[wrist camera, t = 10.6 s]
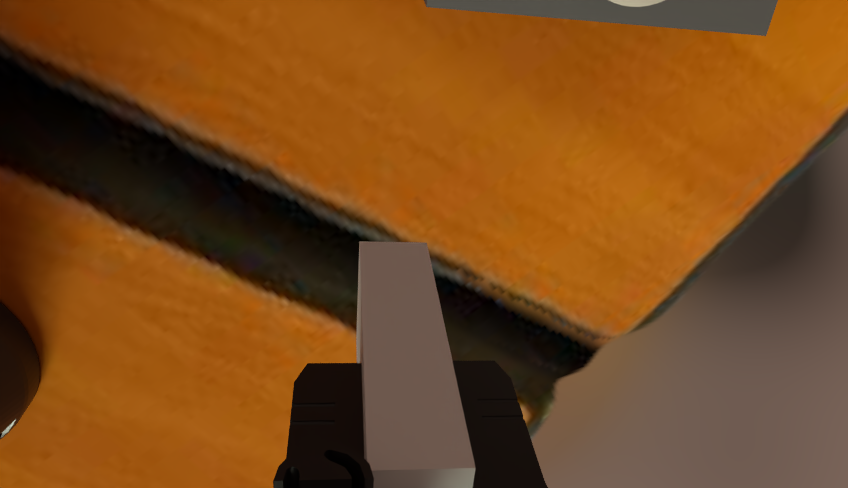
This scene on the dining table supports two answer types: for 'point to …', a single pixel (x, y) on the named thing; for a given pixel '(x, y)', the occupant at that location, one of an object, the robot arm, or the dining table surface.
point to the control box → (638, 12)
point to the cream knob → (636, 2)
